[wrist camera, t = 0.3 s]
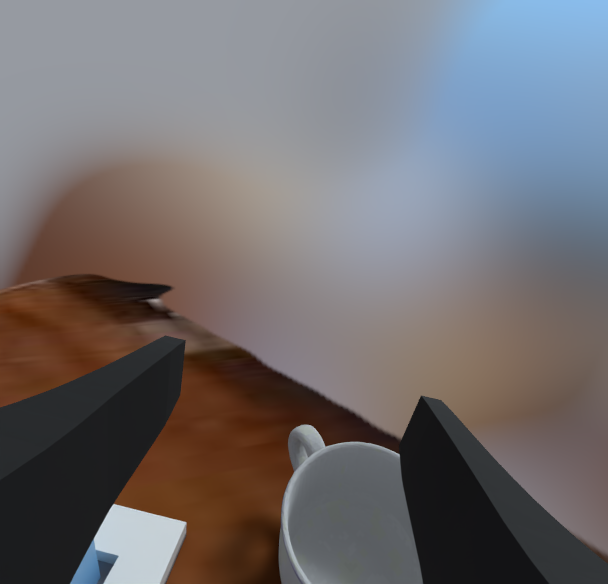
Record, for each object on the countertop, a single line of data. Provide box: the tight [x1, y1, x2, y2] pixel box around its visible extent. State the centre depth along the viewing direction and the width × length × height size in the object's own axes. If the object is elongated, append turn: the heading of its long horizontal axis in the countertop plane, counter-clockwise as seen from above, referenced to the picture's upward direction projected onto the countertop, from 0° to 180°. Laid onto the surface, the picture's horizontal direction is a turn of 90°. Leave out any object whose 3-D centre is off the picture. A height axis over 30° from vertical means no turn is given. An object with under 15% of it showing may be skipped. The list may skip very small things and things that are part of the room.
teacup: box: [279, 425, 423, 584], centre depth 24 cm, size 14×11×8 cm
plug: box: [70, 539, 101, 584], centre depth 19 cm, size 4×4×6 cm
